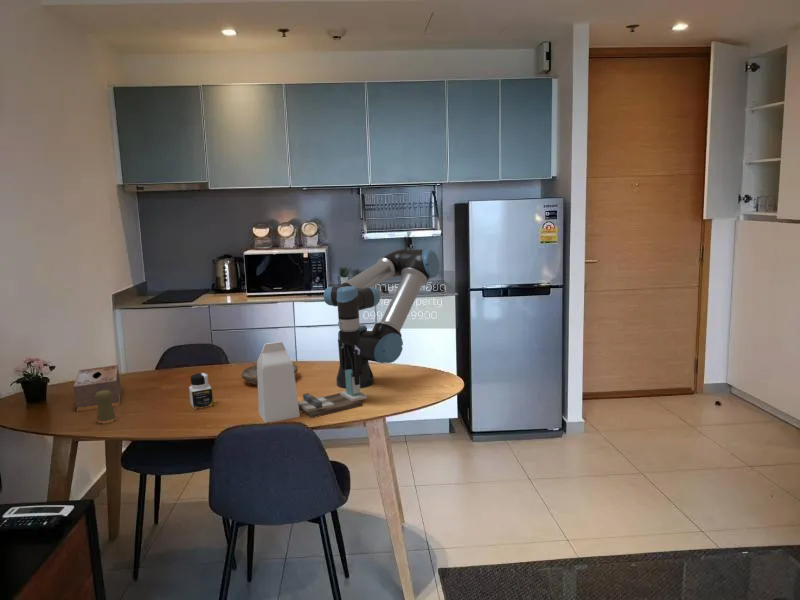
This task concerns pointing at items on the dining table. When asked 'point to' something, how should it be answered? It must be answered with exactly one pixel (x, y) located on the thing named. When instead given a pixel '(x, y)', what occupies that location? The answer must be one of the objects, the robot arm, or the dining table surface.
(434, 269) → the robot arm
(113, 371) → the tissue box cover
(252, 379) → the ceramic bowl
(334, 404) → the board
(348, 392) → the teal cube on panel
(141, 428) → the dining table surface
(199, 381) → the medicine bottle
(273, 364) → the milk
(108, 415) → the green pepper shaker
